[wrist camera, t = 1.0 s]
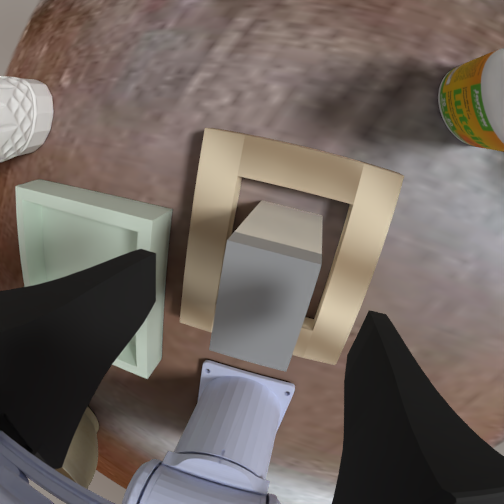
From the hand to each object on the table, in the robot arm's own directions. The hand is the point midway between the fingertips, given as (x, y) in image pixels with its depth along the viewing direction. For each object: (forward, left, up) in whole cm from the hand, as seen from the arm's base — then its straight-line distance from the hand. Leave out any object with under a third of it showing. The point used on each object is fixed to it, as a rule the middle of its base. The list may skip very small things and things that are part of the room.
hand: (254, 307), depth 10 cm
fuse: (-2, 0, -11) cm, 12 cm away
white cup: (+4, +24, -12) cm, 27 cm away
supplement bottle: (+11, -10, -12) cm, 19 cm away
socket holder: (-2, 0, -11) cm, 12 cm away
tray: (-8, +15, -11) cm, 21 cm away
